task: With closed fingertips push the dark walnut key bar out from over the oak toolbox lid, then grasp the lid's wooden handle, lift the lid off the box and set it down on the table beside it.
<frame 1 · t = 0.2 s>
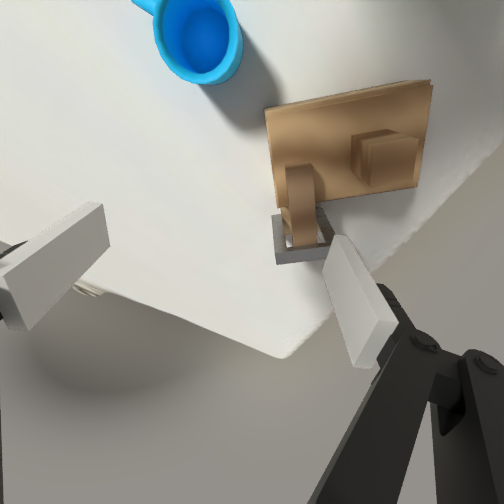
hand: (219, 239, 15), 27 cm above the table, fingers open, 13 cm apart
lid: (344, 152, 32), point 6 cm above the table, touching toolbox
mug: (195, 36, 32), on the table
toolbox: (333, 143, 38), on the table
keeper: (296, 216, 44), on the table
key bar: (301, 212, 34), point 9 cm above the table, slide at 0.0 cm
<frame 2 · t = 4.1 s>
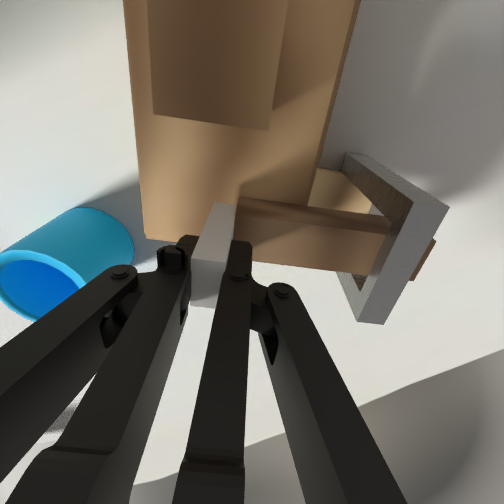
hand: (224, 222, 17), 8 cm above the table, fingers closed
lid: (231, 117, 16), point 6 cm above the table, touching toolbox
mug: (88, 252, 29), on the table
toolbox: (238, 110, 21), on the table
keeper: (341, 198, 25), on the table
key bar: (325, 238, 17), point 9 cm above the table, slide at 1.0 cm, touching gripper
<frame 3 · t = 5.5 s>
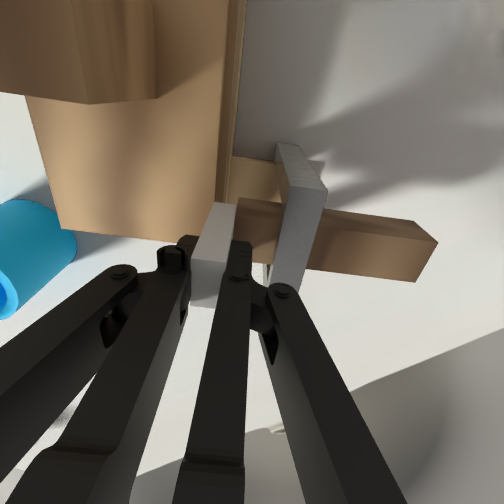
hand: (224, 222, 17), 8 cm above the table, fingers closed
lid: (129, 102, 16), point 6 cm above the table, touching toolbox
mug: (31, 245, 29), on the table
toolbox: (161, 99, 21), on the table
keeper: (278, 190, 25), on the table
key bar: (325, 239, 17), point 9 cm above the table, slide at 7.1 cm, touching gripper
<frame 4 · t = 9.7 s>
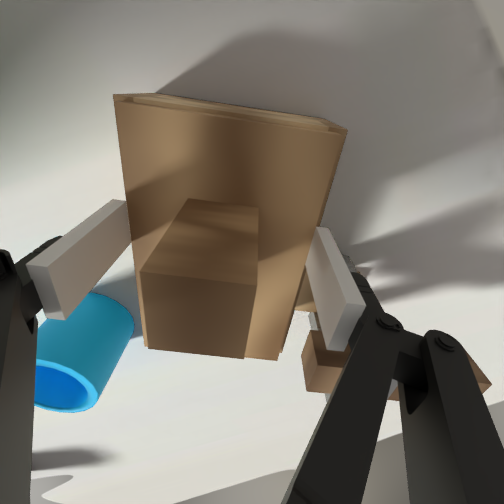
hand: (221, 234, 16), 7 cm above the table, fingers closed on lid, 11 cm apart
lid: (220, 259, 18), point 6 cm above the table, touching gripper, toolbox
mug: (91, 326, 31), on the table
toolbox: (229, 221, 23), on the table
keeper: (327, 288, 27), on the table
key bar: (387, 368, 20), point 9 cm above the table, slide at 7.2 cm
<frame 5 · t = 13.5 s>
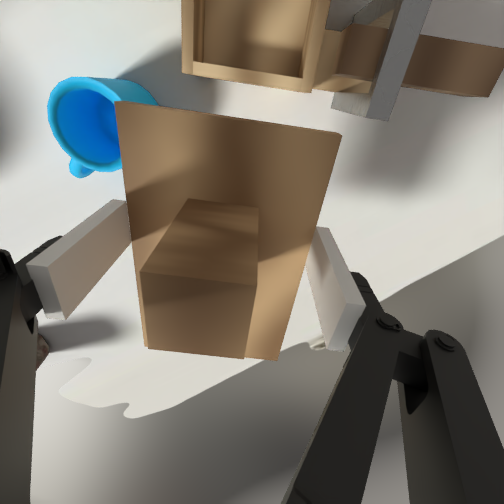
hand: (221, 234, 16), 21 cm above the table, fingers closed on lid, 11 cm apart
lid: (220, 259, 18), point 20 cm above the table, touching gripper
mug: (122, 131, 33), on the table
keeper: (349, 66, 28), on the table
brown piece: (34, 342, 54), on the table
key bar: (414, 63, 21), point 9 cm above the table, slide at 7.2 cm
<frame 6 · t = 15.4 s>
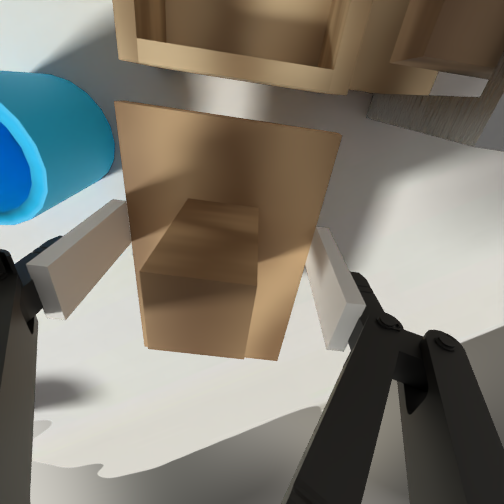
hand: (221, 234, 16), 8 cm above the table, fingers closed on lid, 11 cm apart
lid: (220, 259, 18), point 7 cm above the table, touching gripper
mug: (54, 151, 22), on the table
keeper: (400, 52, 18), on the table
when the fingers open (3 cm above the table, at t = 17.2 s): lid drops 2 cm, on the table.
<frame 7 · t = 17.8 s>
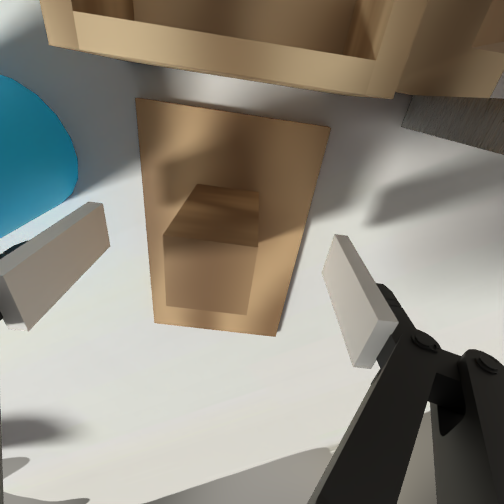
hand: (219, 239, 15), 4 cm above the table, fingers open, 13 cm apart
lid: (224, 240, 20), on the table
mug: (3, 168, 18), on the table
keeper: (453, 40, 13), on the table
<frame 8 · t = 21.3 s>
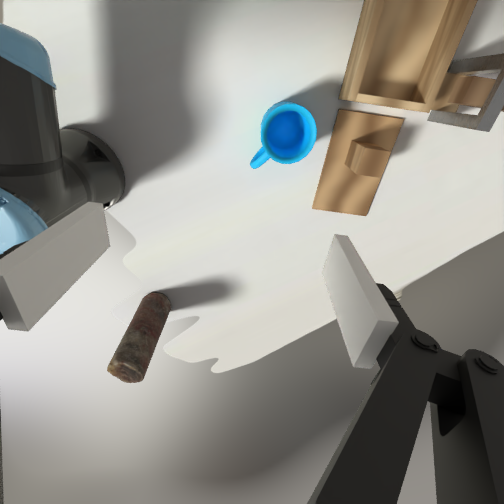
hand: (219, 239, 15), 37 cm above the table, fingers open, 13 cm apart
lid: (352, 166, 49), on the table
mug: (276, 136, 47), on the table
toolbox: (397, 34, 39), on the table
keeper: (444, 93, 42), on the table
brown piece: (158, 302, 68), on the table
key bar: (503, 97, 35), point 9 cm above the table, slide at 7.2 cm
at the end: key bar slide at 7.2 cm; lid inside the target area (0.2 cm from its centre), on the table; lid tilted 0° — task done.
